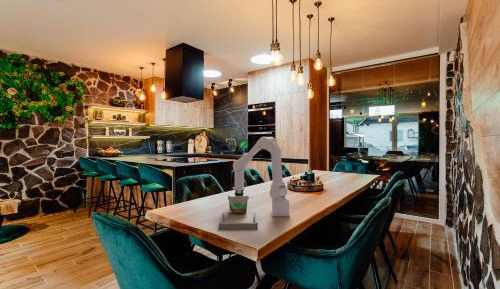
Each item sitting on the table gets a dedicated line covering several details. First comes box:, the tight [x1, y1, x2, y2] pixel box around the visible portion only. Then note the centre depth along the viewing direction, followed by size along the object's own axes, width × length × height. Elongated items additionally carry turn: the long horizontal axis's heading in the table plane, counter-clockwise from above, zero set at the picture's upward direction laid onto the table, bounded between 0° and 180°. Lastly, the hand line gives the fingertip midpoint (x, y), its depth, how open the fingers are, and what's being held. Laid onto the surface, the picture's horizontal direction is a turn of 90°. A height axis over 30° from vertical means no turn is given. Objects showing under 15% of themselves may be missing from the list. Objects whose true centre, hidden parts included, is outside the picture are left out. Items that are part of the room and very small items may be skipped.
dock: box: [218, 212, 259, 230], centre depth 128 cm, size 18×17×2 cm
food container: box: [227, 194, 250, 216], centre depth 144 cm, size 12×6×10 cm, turn 101°
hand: (239, 202), depth 159 cm, fingers open, 7 cm apart
